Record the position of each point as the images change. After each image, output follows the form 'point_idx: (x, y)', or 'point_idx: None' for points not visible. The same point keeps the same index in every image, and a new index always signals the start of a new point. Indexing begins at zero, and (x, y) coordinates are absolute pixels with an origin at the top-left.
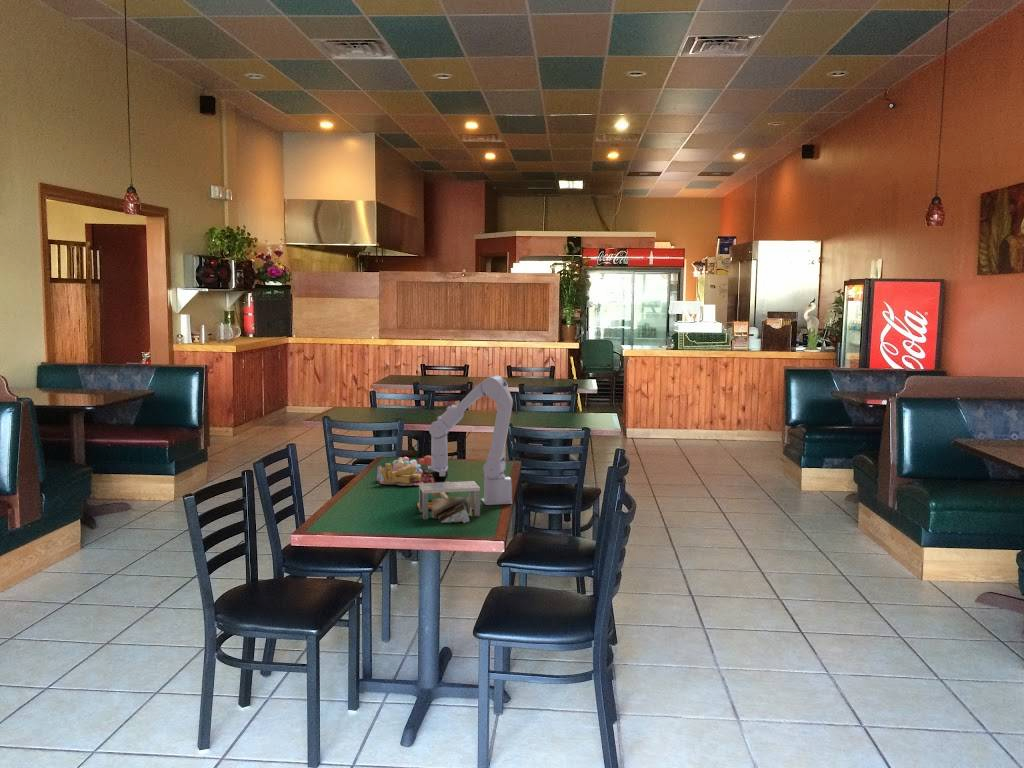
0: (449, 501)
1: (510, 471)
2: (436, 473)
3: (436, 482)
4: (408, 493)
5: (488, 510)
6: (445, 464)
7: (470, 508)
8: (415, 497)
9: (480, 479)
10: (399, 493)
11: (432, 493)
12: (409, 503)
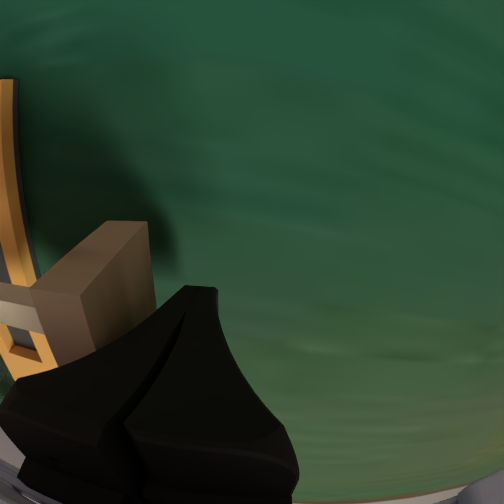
0: None
1: None
2: (51, 463)
3: (70, 348)
4: (472, 73)
5: (6, 393)
6: None
7: None
8: (322, 76)
9: (485, 446)
10: (480, 15)
11: (96, 231)
12: (107, 10)
